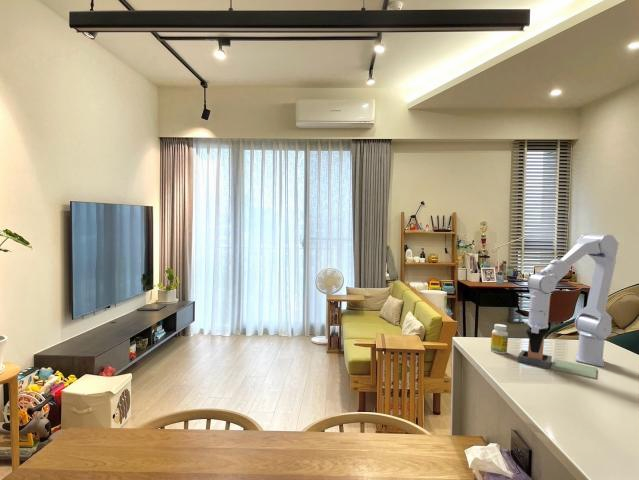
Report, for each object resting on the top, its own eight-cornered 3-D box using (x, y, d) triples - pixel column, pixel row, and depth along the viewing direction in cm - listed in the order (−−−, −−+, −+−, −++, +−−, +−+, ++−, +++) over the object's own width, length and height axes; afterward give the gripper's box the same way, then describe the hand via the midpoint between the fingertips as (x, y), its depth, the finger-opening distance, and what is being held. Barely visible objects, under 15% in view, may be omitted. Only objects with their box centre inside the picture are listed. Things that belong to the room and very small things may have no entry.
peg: (529, 356, 137) (531, 333, 136) (542, 359, 134) (544, 335, 134) (527, 359, 133) (529, 335, 133) (540, 362, 131) (543, 338, 131)
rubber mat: (554, 359, 137) (554, 358, 137) (596, 369, 131) (596, 367, 131) (550, 368, 128) (550, 367, 128) (596, 379, 121) (596, 377, 121)
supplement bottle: (494, 348, 147) (496, 322, 146) (509, 352, 143) (511, 325, 143) (487, 351, 143) (490, 324, 143) (503, 355, 139) (505, 327, 139)
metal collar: (521, 355, 140) (522, 350, 140) (551, 362, 135) (551, 356, 135) (517, 361, 133) (518, 355, 133) (548, 368, 127) (549, 362, 127)
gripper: (528, 305, 141) (525, 343, 142) (522, 311, 129) (518, 352, 130) (551, 308, 137) (548, 348, 138) (547, 315, 125) (543, 357, 126)
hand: (535, 350), depth 134 cm, fingers closed on peg, 4 cm apart
